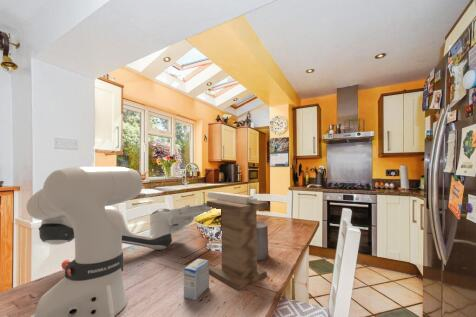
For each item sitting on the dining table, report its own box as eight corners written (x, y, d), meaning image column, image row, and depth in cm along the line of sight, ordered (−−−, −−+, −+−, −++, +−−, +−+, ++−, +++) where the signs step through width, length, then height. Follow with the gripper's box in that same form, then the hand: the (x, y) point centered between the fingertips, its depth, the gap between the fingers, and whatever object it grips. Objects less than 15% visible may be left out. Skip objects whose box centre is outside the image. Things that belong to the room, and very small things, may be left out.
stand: (240, 291, 69) (239, 207, 70) (206, 271, 83) (206, 201, 84) (269, 276, 79) (268, 202, 80) (235, 260, 92) (234, 197, 93)
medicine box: (197, 284, 74) (197, 258, 74) (209, 287, 72) (209, 259, 72) (183, 297, 66) (183, 268, 67) (196, 301, 65) (196, 270, 65)
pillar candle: (258, 250, 103) (257, 217, 104) (273, 257, 96) (272, 221, 96) (241, 255, 98) (240, 221, 98) (255, 263, 90) (255, 225, 90)
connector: (250, 205, 74) (250, 197, 74) (205, 197, 93) (205, 191, 93) (258, 203, 76) (258, 196, 76) (212, 196, 96) (212, 191, 96)
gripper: (204, 218, 115) (218, 208, 107) (166, 226, 101) (179, 215, 93) (200, 207, 118) (214, 196, 109) (163, 213, 104) (175, 201, 95)
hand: (197, 205), depth 101 cm, fingers open, 8 cm apart
